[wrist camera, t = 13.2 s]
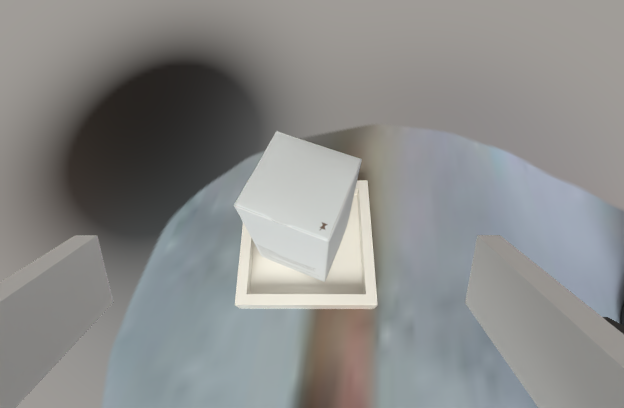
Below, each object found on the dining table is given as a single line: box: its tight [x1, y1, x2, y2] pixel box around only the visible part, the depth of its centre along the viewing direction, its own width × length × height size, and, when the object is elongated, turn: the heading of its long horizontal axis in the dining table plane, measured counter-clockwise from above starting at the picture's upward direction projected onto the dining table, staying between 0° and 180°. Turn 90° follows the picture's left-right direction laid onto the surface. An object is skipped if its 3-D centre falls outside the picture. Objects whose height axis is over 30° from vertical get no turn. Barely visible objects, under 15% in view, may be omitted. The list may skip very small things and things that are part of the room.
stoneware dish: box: [235, 180, 377, 309], centre depth 42 cm, size 16×16×3 cm
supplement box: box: [234, 131, 362, 282], centre depth 36 cm, size 9×9×15 cm
